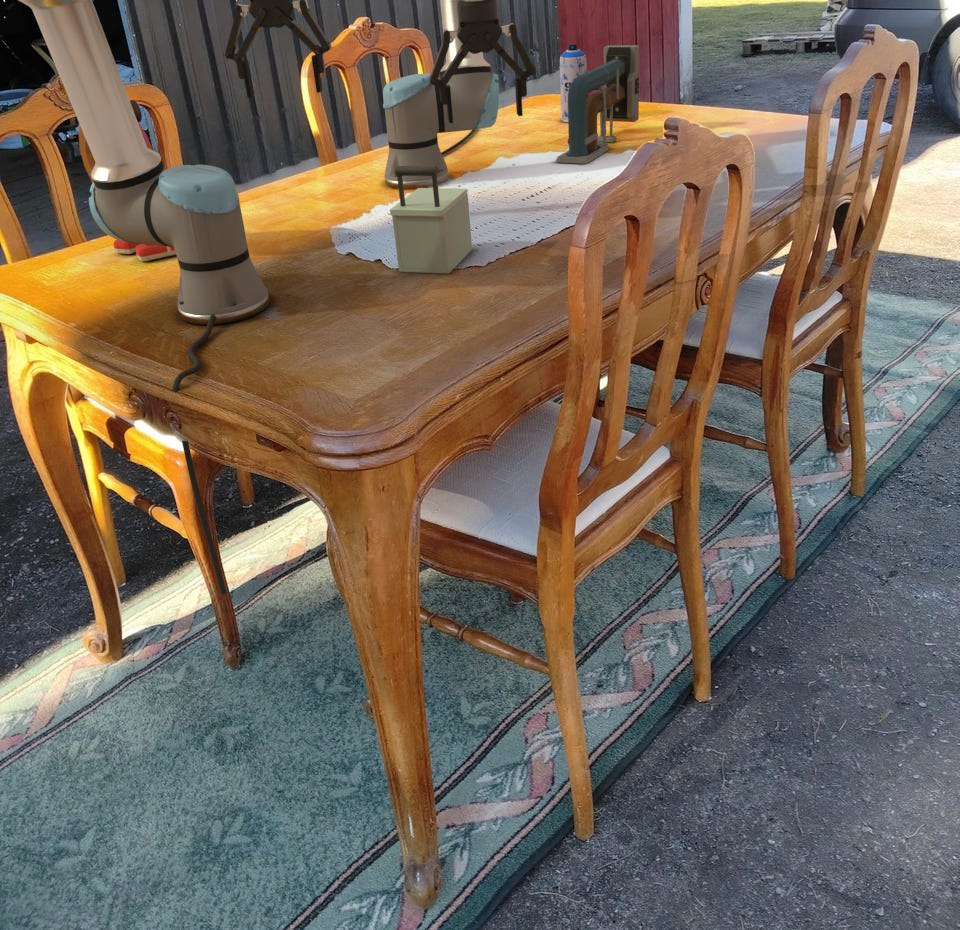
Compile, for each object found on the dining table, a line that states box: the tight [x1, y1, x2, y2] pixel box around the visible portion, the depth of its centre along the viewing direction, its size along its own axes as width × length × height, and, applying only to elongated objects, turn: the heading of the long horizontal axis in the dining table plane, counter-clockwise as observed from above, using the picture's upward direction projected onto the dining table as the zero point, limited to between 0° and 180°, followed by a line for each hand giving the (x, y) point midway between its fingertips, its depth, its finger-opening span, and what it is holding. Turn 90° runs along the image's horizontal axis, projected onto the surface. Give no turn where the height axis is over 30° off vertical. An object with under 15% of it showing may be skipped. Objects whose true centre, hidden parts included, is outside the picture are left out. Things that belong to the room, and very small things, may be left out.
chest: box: [391, 195, 473, 275], centre depth 177 cm, size 13×10×10 cm
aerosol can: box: [559, 43, 588, 123], centre depth 273 cm, size 8×8×20 cm
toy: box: [78, 99, 177, 262], centre depth 190 cm, size 21×10×30 cm, turn 47°
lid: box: [389, 166, 469, 217], centre depth 172 cm, size 14×10×8 cm
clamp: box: [555, 44, 640, 164], centre depth 242 cm, size 35×9×21 cm, turn 151°
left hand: (285, 94), depth 189 cm, fingers open, 13 cm apart
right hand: (485, 118), depth 189 cm, fingers open, 13 cm apart
